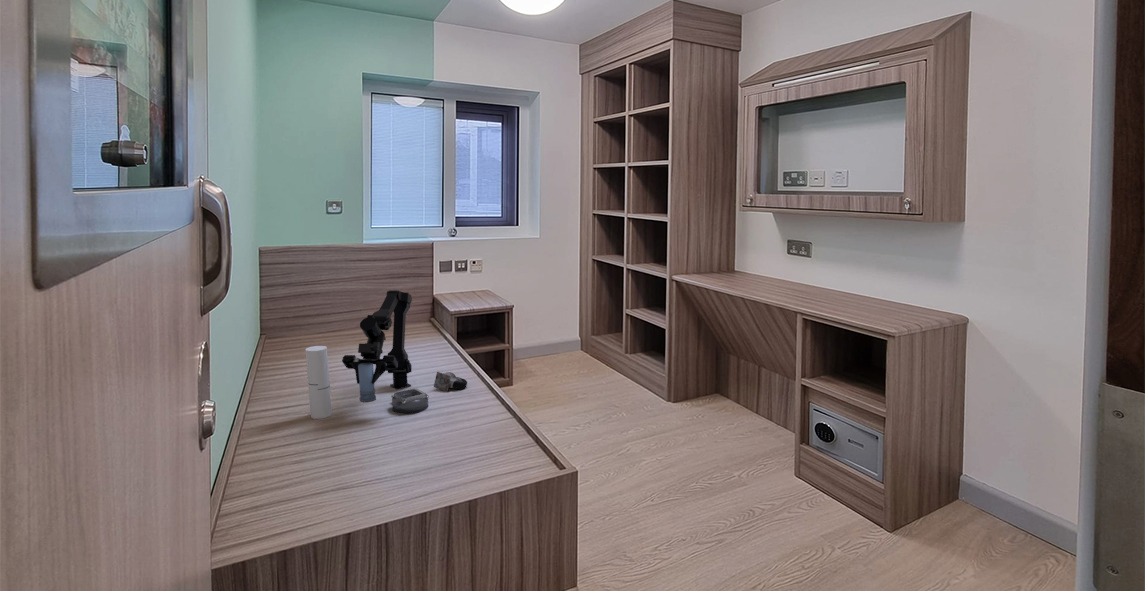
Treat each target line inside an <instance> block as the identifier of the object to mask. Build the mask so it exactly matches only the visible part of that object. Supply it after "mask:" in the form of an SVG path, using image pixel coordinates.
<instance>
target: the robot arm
mask: <svg viewBox="0 0 1145 591" xmlns="http://www.w3.org/2000/svg"><path fill="white" fill-rule="evenodd" d="M412 301H413V298H412V295H411V294H410V293H409V292H408V291H407V292H405V291H404V292H403V291H401V290H397V289H396V290H394V289H392V290H391V289H390V290H387V291H386V296H385V297H384V300H383V302H382V304H381V305H380V307H379V309H378V310H376V311H375V312H373V313H372V314H368V315H367V316H366V317H365V318H363V319H362V320H361V321H360V323H359V326H360V329H361V330H362V333H363V334H364V336H365V337H366V338H367V340H366V342H365V343H359V344H358V349H357V350H358V351H357V353H358V354H360V357H361V358H359V357H357V356H356V355H355V354H345V355H343V357H342V359H341V362H342V363H343V365H344V367H345V368H347V369H351V370H354V371H355V377H356V384H359V371H358V365H359V364H361V363H373V365H375V369H374V375H373V379H372V384H374V385H375V383H376V382H377V381H378V379H380V377H381V376H382V375H383V374H384V373H385V372H387V374H392V383H391V384H390V385H389V386H390V387H392V388H394V389H395V390H399V389H404V388H408V387H412V384H409V383H408V374H410V373H412V371H413V370H412V368H413V367H412V366H413V365H412V363H411V362H410V360H409V355H408V353H407V351H406V348H405V340H406V339H405V338H406V319H407V318H406V316H407V313H408V312H409V310H410V308H411V304H412ZM393 314H394V315H393ZM392 315H393V321H392ZM392 325H393V330H392V332H393V333H392V349H390V351H389V352H387V355H386V354H384V355H383V356H382V358H381V354H383V352H384V351H383V346H384V342H385V341H386V337H387V336H386V333H385V332H384V331H389V330H390V328H391V327H392Z"/></svg>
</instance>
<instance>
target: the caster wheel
mask: <svg viewBox="0 0 1145 591" xmlns="http://www.w3.org/2000/svg"><path fill="white" fill-rule="evenodd" d="M435 375H436V376H435V379H434V384H433V388H436V389H438V390H441V391H444V392H448V391H449V388H451V389H457V390H464V389H467V385H468V381H467V380H466V379H464V378H462V377H458V376H457V375H456V374H455V373H453V372H451V371H450V372H448V371H447V372H443V373H442V372H440V371H436V374H435Z"/></svg>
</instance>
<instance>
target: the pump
mask: <svg viewBox="0 0 1145 591" xmlns="http://www.w3.org/2000/svg"><path fill="white" fill-rule="evenodd" d="M358 371H359V402H360V403H372V402H375V401H376V400H377V395H376V388H375V383H374V384H372V379H373V375H374V372H375V370H374V364H373V363H361V364H359V365H358Z"/></svg>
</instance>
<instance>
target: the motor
mask: <svg viewBox="0 0 1145 591" xmlns="http://www.w3.org/2000/svg"><path fill="white" fill-rule="evenodd" d="M390 397H391V406H392V411H393V412H394V413H396V414H400V415H404V414H405V415H409V414H417V413H420V412H423V411H426V410H427V409H428V408H429V395H428V394H427V393H426V392H424V391H422V390H420V389H418V388H409V389H405V390H401V391H395V392H394V393H393V394H391V396H390Z"/></svg>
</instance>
